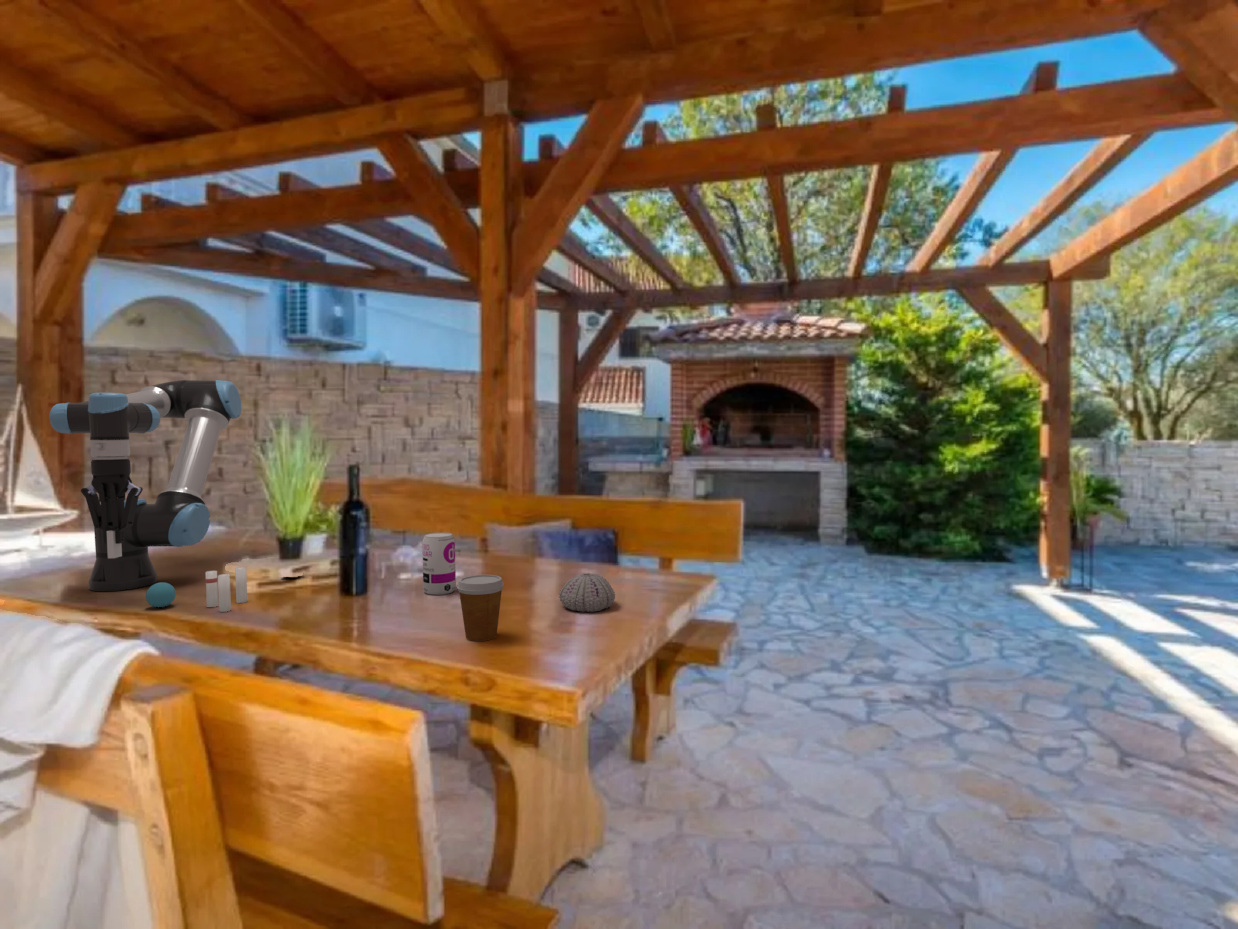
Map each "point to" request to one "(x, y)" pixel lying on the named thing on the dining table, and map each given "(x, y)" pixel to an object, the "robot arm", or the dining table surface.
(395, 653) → the dining table surface
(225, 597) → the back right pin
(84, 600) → the dining table surface
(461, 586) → the disposable coffee cup
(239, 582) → the back left pin
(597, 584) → the sea urchin shell
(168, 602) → the ball
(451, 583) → the supplement can
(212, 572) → the front pin
